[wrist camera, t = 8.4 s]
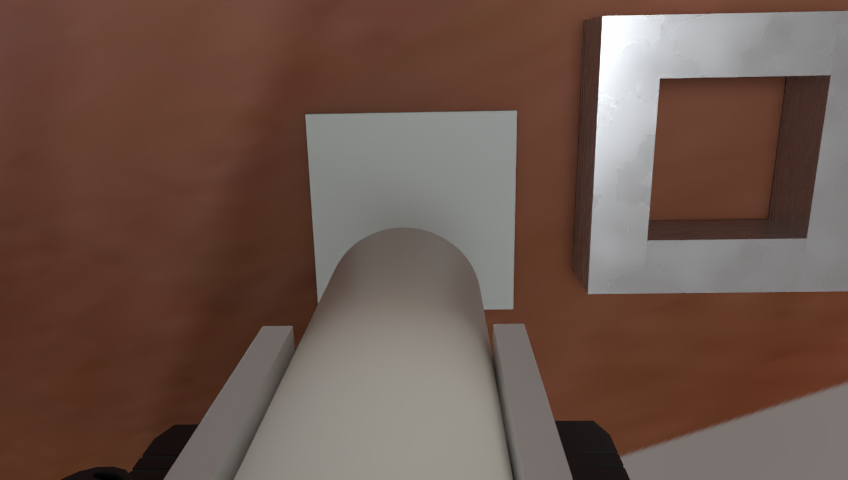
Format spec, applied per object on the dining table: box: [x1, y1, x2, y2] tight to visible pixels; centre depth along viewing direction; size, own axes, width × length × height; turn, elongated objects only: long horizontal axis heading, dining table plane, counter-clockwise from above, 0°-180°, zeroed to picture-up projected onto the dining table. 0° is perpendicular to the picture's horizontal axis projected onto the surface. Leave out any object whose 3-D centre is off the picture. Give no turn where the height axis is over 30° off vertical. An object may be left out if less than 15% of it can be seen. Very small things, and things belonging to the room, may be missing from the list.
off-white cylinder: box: [234, 228, 513, 480], centre depth 15 cm, size 5×5×13 cm
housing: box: [573, 11, 848, 294], centre depth 30 cm, size 12×12×4 cm
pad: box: [305, 110, 517, 310], centre depth 32 cm, size 10×10×1 cm
